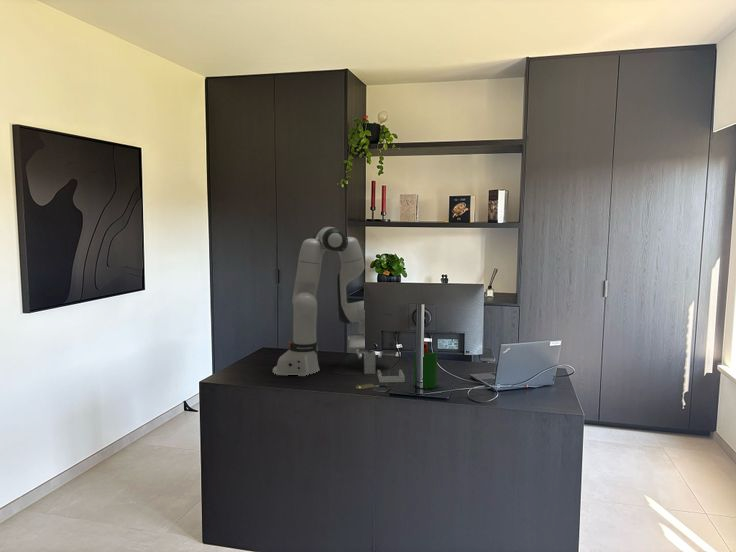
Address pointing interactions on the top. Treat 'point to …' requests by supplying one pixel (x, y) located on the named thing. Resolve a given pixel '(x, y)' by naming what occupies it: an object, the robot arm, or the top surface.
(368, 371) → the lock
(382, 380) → the bracket
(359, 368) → the top surface
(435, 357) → the green utensil holder
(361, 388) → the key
